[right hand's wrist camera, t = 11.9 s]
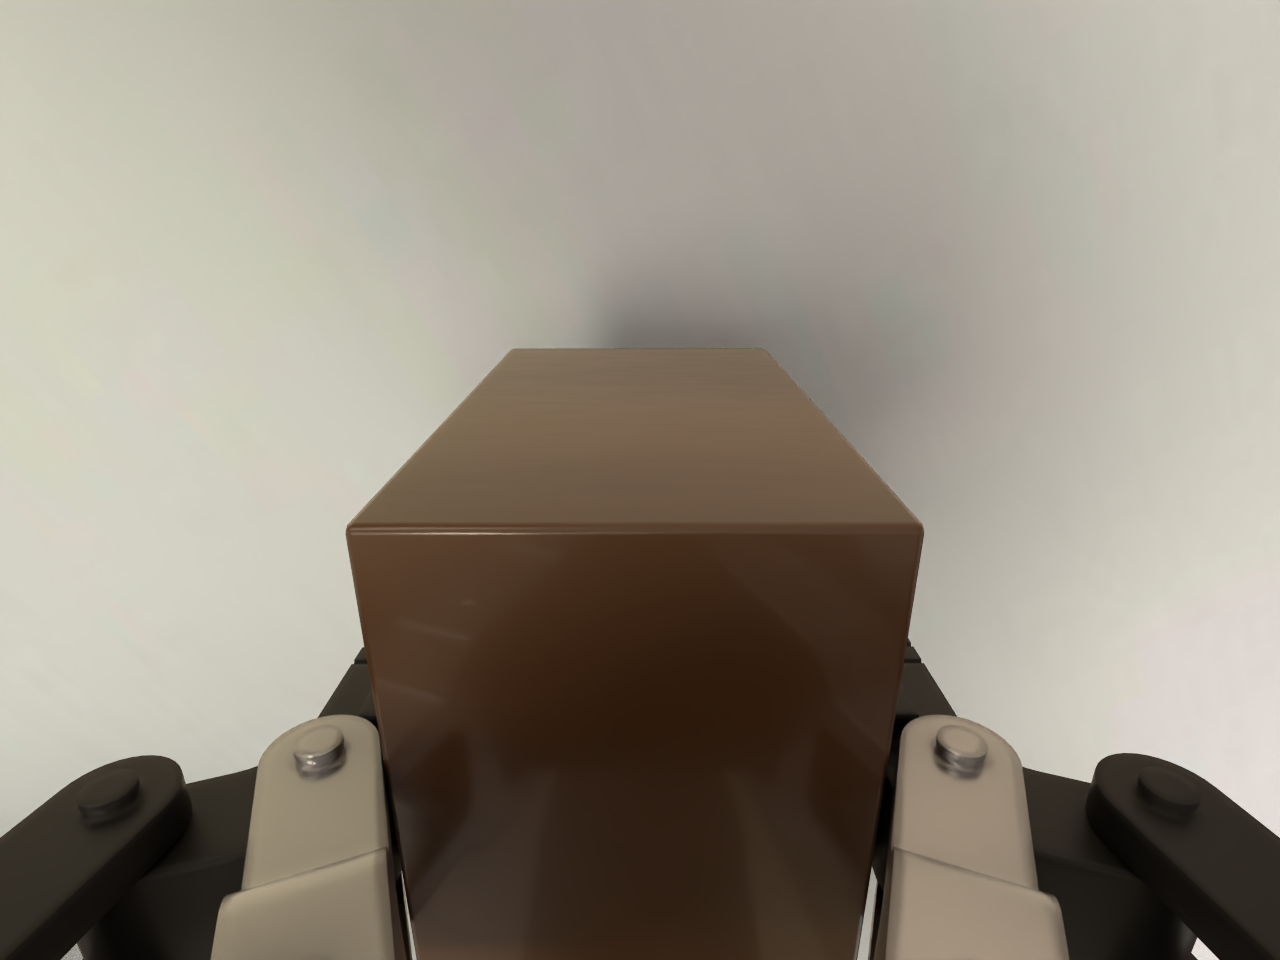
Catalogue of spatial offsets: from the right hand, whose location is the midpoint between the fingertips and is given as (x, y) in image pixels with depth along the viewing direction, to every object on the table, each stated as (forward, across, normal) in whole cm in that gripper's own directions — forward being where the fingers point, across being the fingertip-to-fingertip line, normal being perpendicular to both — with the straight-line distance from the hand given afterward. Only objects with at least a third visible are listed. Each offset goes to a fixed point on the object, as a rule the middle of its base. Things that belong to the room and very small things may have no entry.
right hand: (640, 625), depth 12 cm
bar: (+4, 0, -8) cm, 9 cm away
